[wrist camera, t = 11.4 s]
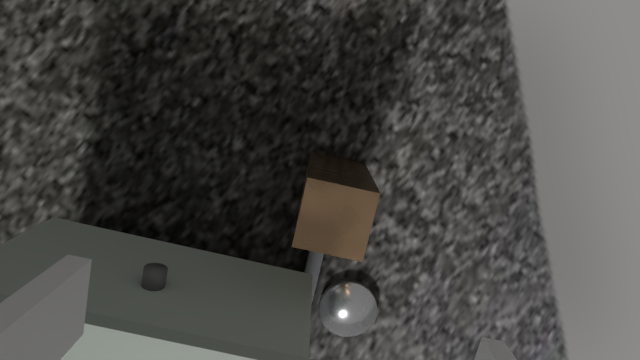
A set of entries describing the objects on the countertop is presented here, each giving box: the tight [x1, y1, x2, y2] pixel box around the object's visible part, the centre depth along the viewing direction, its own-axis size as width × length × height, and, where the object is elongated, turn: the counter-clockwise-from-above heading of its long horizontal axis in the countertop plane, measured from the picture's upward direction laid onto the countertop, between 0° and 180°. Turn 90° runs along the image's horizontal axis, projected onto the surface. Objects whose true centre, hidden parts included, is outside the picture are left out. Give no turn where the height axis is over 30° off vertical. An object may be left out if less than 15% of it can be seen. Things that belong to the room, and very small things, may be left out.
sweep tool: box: [292, 152, 380, 305], centre depth 33 cm, size 15×4×10 cm, turn 167°
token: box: [319, 279, 377, 337], centre depth 39 cm, size 5×5×1 cm
